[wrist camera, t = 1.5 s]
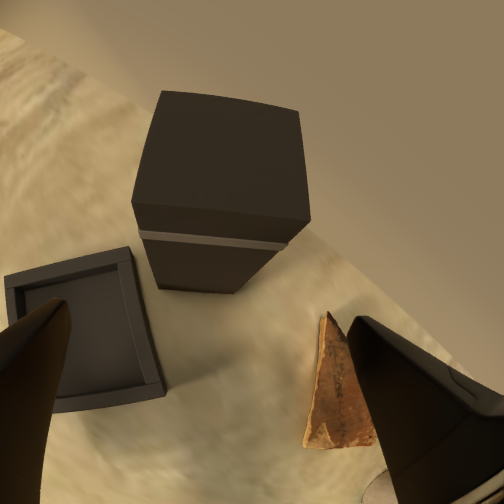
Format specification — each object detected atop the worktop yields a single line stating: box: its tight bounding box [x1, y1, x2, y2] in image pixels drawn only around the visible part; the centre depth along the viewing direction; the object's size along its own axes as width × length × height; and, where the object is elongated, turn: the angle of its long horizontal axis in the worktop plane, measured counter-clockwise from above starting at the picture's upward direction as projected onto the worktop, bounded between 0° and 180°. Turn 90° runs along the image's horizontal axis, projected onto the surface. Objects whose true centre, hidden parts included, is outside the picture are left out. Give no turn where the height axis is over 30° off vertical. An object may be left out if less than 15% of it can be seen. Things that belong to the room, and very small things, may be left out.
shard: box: [302, 311, 377, 449], centre depth 20 cm, size 11×8×2 cm
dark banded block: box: [131, 91, 311, 294], centre depth 15 cm, size 5×6×13 cm
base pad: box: [4, 246, 167, 414], centre depth 16 cm, size 10×10×2 cm
